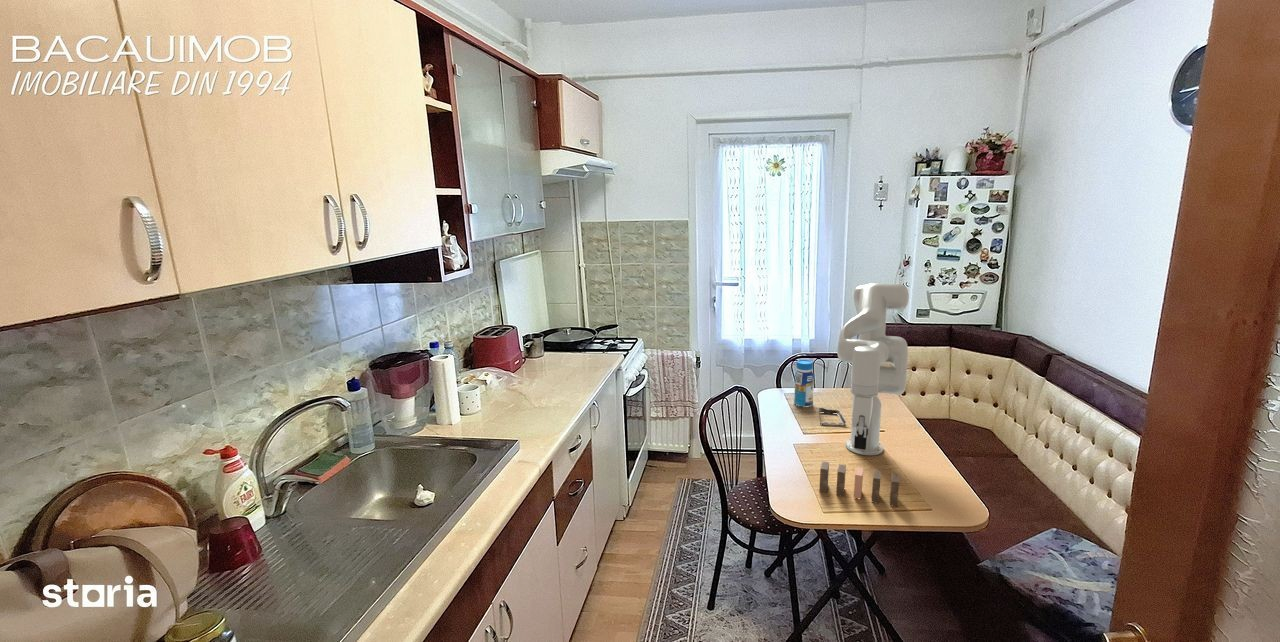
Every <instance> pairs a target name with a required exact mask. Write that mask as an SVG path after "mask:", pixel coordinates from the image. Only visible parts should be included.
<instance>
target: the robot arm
mask: <svg viewBox="0 0 1280 642" xmlns="http://www.w3.org/2000/svg"><path fill="white" fill-rule="evenodd" d="M909 296H910V294H909V289H908V287H907V286H906V285H904V284H902V283H883V282H881V283H880V282H879V283H876V282H875V283H868V284H863V285H859V286H857V287H855V289H854V292H853V302H854V306H855V309H856V313H857V315H856V316H853V317H852V318H851V319H850V320H849V321H847V322H846V323H845V324H844V326H842V328H841V330H840V333H839V336H838V337H839V338H838V342H837V349H836V352H837V358H838V359H839V360H840V362H843V363H846V364H851V373H850V393H851V395H852V410H851V424H850V425H851V426H850V427H851V429H850V438H849V439H847V440H846V441H845V447H846V448H847V449H848V450H849V451H850V452H852V453H855V454H857V455H863V456H877V455H880V454H882V453H883V451H884V446H883V445H882V444H881V442H880V432H881V417H882V401H881V399H880V398H879V397H878V395H879V394H886V395H895V396H897V395H898V396H899V395H902V394H904V392H905V391H906V387H907V385H906V384H907V377H908V376H907V374H908V373H907V372H908V356H909V355H908V351H909V349H908V348H909V346H908V342H907V341H906V339H905V338H903V337H901V336H896V335H895V336H893V335H886V327H887V325H886V324H887V323H886V322H887V321H886V320H887V310H891V311H893V310H894V311H904V310H906V308H907V306H908V304H909V298H910V297H909ZM856 336H858V338H854V337H856ZM886 363H887V364H890V365H892V366H885V365H884V364H886Z"/></svg>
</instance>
